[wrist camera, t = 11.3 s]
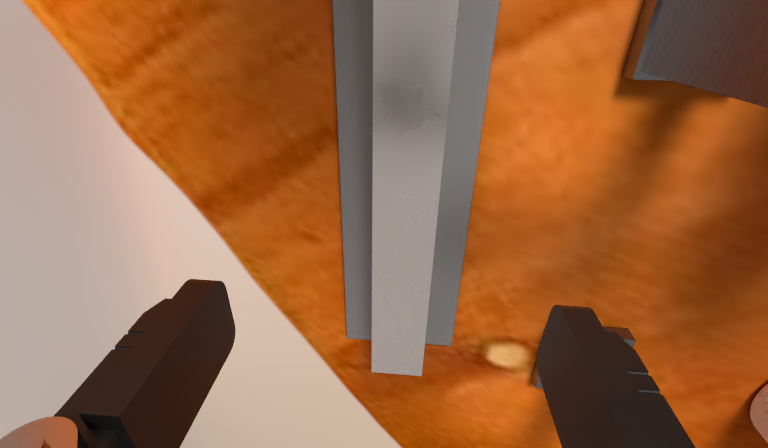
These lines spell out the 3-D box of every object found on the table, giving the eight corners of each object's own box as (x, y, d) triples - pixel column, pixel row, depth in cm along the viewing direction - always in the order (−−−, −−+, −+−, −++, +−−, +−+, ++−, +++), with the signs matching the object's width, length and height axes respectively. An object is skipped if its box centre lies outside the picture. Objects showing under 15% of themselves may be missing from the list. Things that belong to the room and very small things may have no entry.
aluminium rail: (382, -150, 14) (374, -187, 11) (466, -150, 14) (477, -188, 11) (376, 335, 26) (371, 372, 23) (421, 338, 25) (421, 376, 23)
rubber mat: (328, -162, 14) (325, -169, 14) (520, -164, 14) (523, -171, 13) (348, 331, 26) (347, 338, 26) (450, 339, 26) (451, 345, 26)
